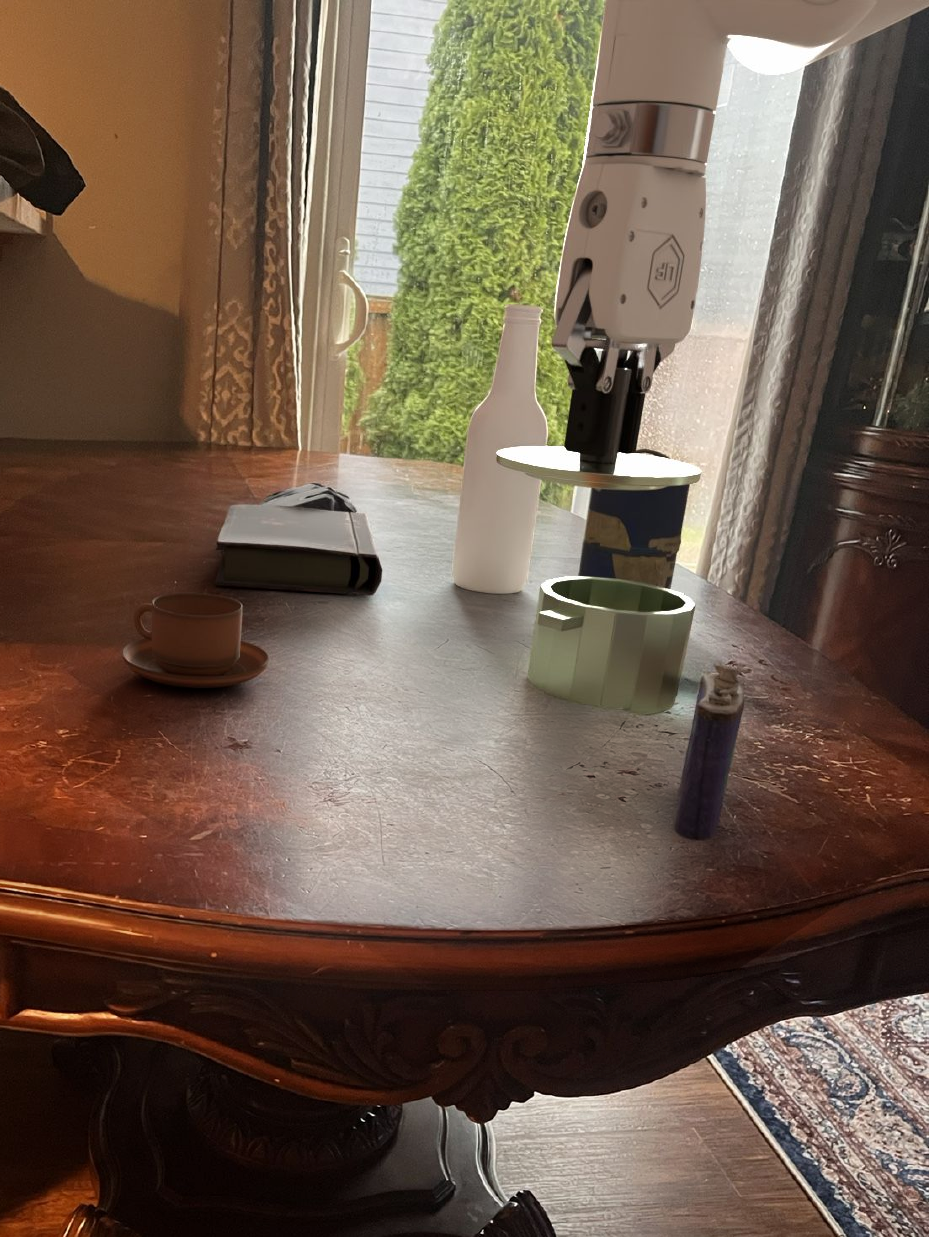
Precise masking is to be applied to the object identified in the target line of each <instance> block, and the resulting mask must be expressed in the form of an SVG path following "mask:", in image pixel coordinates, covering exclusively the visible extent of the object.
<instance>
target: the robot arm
mask: <svg viewBox="0 0 929 1237" xmlns="http://www.w3.org/2000/svg"><path fill="white" fill-rule="evenodd" d="M603 7H604V10H603V15H602V23H601V31H600V38H599V45H598V53H597V60H596V67H595V75H594V81H593V90H592V96H591V103H590V111H589V117H588V125H587V132H586V139H585V146H584V154H583V160H582V168H581V171H580V175H579V179H578V182H577V185H576V190H575V193H574V196H573V200H572V205H571V209H570V213H569V218H568V222H567V227H566V231H565V237H564V241H563V247H562V252H561V258H560V263H559V270H558V277H557V283H556V292H555V301H554V302H555V303H554V324H555V327H556V328H555V331H554V333H553V336H552V338H551V347H552V349H553V350H554V351H555V352H556V353H557V354H558V355H559V356H560V357H561V358H562V359H563V360H564V363H565V365H566V368H567V370H568V378H567V386H568V388H569V389H570V390H571V395H570V402H569V408H568V416H567V423H566V431H565V438H564V445H563V447H564V448H565V450H566V451H568V452H573V453H579V454H585V455H591V456H597V457H601V456H605V455H607V453H608V449H609V442H610V436H611V430H612V424H613V417H614V411H615V405H616V398H617V394H613V393H609V392H610V390H611V388H612V386H613V381H614V375H615V370H616V367H619V368H628V369H631V370H632V373H631V379H630V385H629V391H628V397H627V404H626V410H625V416H624V422H623V429H622V435H621V441H620V447H619V453H620V454H633V453H634V452H635V451H636V450H637V446H638V442H639V441H638V440H639V435H640V430H641V429H640V428H641V422H642V418H643V412H644V411H643V410H644V406H645V398H646V394H647V393H648V392H650V390H651V388H652V385H653V378H654V373H655V372H656V370H657V369H658V367H659V366H660V363H661V362H663V361H664V360H666V358H668V357H669V356H670V355H671V354H672V353H674V351H675V347H676V344H679V343H681V342H682V341H684V340H686V338H687V337H688V336H689V335H690V333H691V330H692V327H693V322H694V316H695V310H696V303H697V296H698V289H699V281H700V275H701V265H702V257H703V248H704V238H705V228H706V207H707V186H706V185H707V181H706V180H707V178H706V177H704V176H705V175H706V170H707V164H708V157H709V152H710V148H711V140H712V134H713V129H714V123H715V117H716V111H717V107H718V102H719V94H720V90H721V83H722V78H723V72H724V66H725V61H726V53H727V49H728V48H729V50H730V52H731V53H732V55H733V56H734V58H735V59H736V60H737V61H739V62H740V64H742V65H743V66H745V67H747V68H748V69H750V70H752V71H754V72H757V73H761V74H764V75H780V74H786V73H791V72H795V71H797V70H799V69H803V68H804V67H807V66H809V65H811V64H813V63H815V62H817V61H819V60H821V59H823V58H825V57H828V56H830V55H832V54H834V53H836V52H838V51H840V50H842V49H845V48H846V47H849V46H850V45H852V44H855V43H857V42H859V41H860V40H863V39H865V38H867V37H869V36H871V35H873V34H876V33H877V32H879V31H882V30H884V29H886V28H888V27H890V26H892V25H894V24H896V23H898V22H901V21H902V20H904V19H907V18H909V17H910V16H912V15H913V16H914V15H915V14H917V13H918V12H920V11H923V10H924V9H926V8H929V0H604V6H603ZM596 350H597V351H601V354H600V357H599V356H598V353H597V351H596ZM629 352H631V353H630V355H629V356H628V353H629Z"/></svg>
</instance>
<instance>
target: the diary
mask: <svg viewBox="0 0 929 1237" xmlns="http://www.w3.org/2000/svg"><path fill="white" fill-rule="evenodd" d="M376 545H377V544H376V542H375V539H374V535H373V532H372V527H371V523H370V520H369V517H368V515H367V514H366V512H365V513H364V512H356V513H353V512H351V513H348V512H339V511H327V510H319V509H311V508H303V507H292V506H278V505H261V504H243V503H241V504H238V503H237V504H232V505H230V506H229V508H228V511H227V513H226V516H225V519H224V522H223V525H222V527H221V529H220V532H219V534H218V537H217V540H216V548H215V551H223V554H222V556H221V562H220V565H219V571H218V574H217V576H216V580H215V582H214V584H215V586H223V587H224V586H225V587H226V586H227V587H241V588H255V589H256V588H257V589H269V590H284V591H285V590H287V591H299V592H314V593H315V592H316V593H331V594H345V595H347V594H348V595H354V594H355V595H359V596H360V595H361V596H374V595H375V594H376V592H377V591H378V588H379V587H380V585H381V583H382V579H383V568H382V564H381V561H380V558H379V555H378V549H377V546H376Z"/></svg>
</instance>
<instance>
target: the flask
mask: <svg viewBox="0 0 929 1237" xmlns="http://www.w3.org/2000/svg"><path fill="white" fill-rule="evenodd" d="M712 668H715V671H716V672H704V673H703V674H702V676H701V677H700V681H699V683H698V690H697V691H698V692H697V695H696V696H697V697H696V702H695V707H694V713H693V718H692V722H691V729H690V732H689V739H688V744H687V748H686V751H685V756H684V762H683V767H682V771H681V777H680V782H679V786H678V788H677V796H678V797H679V802H678V803H679V804H678V808H677V812H676V818H675V822H674V831H675V833H676V834H678V835H679V836H681V837H682V838H685V839H687V840H689V841H690V840H691V841H698V842H699V841H700V842H703V841H709V840H711V839H713V837H714V836H715V835H716V832H717V830H718V828H719V824H720V817H721V814H722V809H723V804H724V798H725V794H726V789H727V786H728V779H729V775H730V771H731V766H732V761H733V758H734V752H735V749H736V748H735V747H736V744H737V739H738V736H739V735H738V734H739V733H738V732H739V729H740V725H741V722H742V716H743V712H744V709H745V701H746V698H745V693H744V690H743V688H742V686H741V684H740V681H739V680H738V679H737V677H738V675H739V674H740V673H743V674H745V675H746V674H747V673H748V668H746V667H743V666H737V667H736V666H733V665H731V664H725V665H723V664H722V663H720V662H717V663H713V667H712Z"/></svg>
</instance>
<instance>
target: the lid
mask: <svg viewBox="0 0 929 1237" xmlns="http://www.w3.org/2000/svg"><path fill="white" fill-rule="evenodd" d="M631 373H632V370H631V369H628V368H619V367H616V370H615V375H614V381H613V386H612V388H611V390H610V392H609V393H613V394H617V398H616V405H615V411H614V417H613V424H612V430H611V436H610V442H609V449H608V453H607V455H605V456H601V457H597V456H591V455H585V454H579V453H573V452H568V451H566V450H565V448H564V446H546V447H514V448H506V449H502V450H500V451H498V452H497V457H496V461H497V463H499V464H500V465H502V466H504V467H507V468H510V469H513V470H517V471H521V472H524V473H525V474H526V475H528V476H530V477H533V478H536V479H540V480H542V481H544V482H549V483H553V484H559V485H566V486H572V487H573V486H574V487H581V488H588V489H591V488H598V489H611V490H657V489H662V488H665V487H667V486H679V485H688V484H690V485H693V484H697V483H699V481H700V480H701V477H702V476H701V475H702V470H701V469H700V468H699V467H697V466H695V465H692V464H689V463H685V462H681V461H677V460H674V459H671V460H669V459H664V458H660V457H657V456H653V455H646V454H640V453H638V454H620V453H619V447H620V441H621V435H622V429H623V422H624V416H625V410H626V404H627V397H628V391H629V385H630V379H631Z"/></svg>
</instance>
